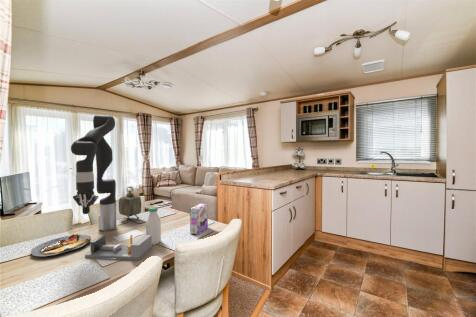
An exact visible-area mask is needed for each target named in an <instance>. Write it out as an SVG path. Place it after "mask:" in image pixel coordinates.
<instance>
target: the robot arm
mask: <svg viewBox="0 0 476 317" xmlns="http://www.w3.org/2000/svg"><path fill="white" fill-rule="evenodd" d="M92 123H93V128H92V129H90V130H89V131H88V132H87V133H86V134H85V135H84V136H82V137H80V138H79V139H76V140H75V141H73V142H72V144H71V145H70V151H71V153H72V154H73V155H75V156H86V157H85V158H84V159H80V160H77V161H76V164H75V170H76V171H75V189H76V190H75V191H76V194H75V195H73V196H72V199H73V200H74V201H75V203H76V204H77V205H78V206H81V208H82V214H83V215H88V214H90V211H91V210H90V209H91V208H90V207H91V206H93V205H94V204H95V202H96V201H97V200H98V198H99V194H100V195H101V194H102V195H103V194H109V195H107V196H106V197H103V198H101V199H99V215H98V230H99V231H102V232H107V231H113V230H115V229H116V228H117V198H116V193H117V192H116V191H117V183H116V180H115V179H113V178H111V179H109V178H107V179H103V177H104V174H105V173H106V171H107V169H108V168H109V167H110V165H111V164H112V163H113V148H112V147H111V146H110V144H109V142H108V141H106V139H105V136H106V135H108V134H109V133H111V132H112V131H113V130H114V129H115V127H116V121H115V118H114V116H112V115H107V114H105V115H104V114H95V115H94V116H93V120H92ZM94 160H95V163H96V164H95V165H96V192H97V193H98V195H95V192H94V189H95V174H94Z"/></svg>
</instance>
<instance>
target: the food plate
mask: <svg viewBox="0 0 476 317" xmlns="http://www.w3.org/2000/svg"><path fill="white" fill-rule="evenodd" d="M59 241H60V242H59ZM91 241H92V238H91V236H90V235H87V234H71V235H67V236H61V237H59V238H58V237H57V238H54V239H51V240H47V241H44V242H41V243H40V244H38V245H37V246H34V247H33V248H32V249H31V250H30V253H31V255H32V256H35V257H48V256H49V257H50V256H56V255H59V254H64V253H67V252H69V251H73V250H77V249H79V248H81V247H85V246H86V245H88V244H89V243H90V242H91ZM57 242H58V243H60V244H59V245H58V244H57V245H53V244H56V243H57ZM50 245H52V247H48V246H50ZM45 247H47V248H45ZM44 248H45V249H44ZM42 249H44V250H43V251H42V252H41V250H42Z"/></svg>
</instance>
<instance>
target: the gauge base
mask: <svg viewBox="0 0 476 317" xmlns="http://www.w3.org/2000/svg"><path fill="white" fill-rule="evenodd" d="M132 243H133V242H132ZM111 245H117V244H116V243H115V244H112V243H111ZM121 245H122V247H121V248H120V249H119V250H117V251H116V252H113V250H97V251H96V252H91V250H90V251H89V252H87V253H86V254H84V258H86V259H100V258H116V259H115V260H117V259H121V261H135V262H138V261H141V259H143V257H145V256H146V255H148V253H149V252H150V251H152V247H153V245H152V238H151V235H146V234H144V235H142V236H141V237H140V238H138V239H137V240H136V241H134V243H133V244H131V243H130V244H121ZM129 245H131V252H130V253H128V249H127V247H128V246H129Z"/></svg>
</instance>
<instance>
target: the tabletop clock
mask: <svg viewBox="0 0 476 317" xmlns="http://www.w3.org/2000/svg"><path fill="white" fill-rule="evenodd" d="M128 189H132V191H131V190H128ZM126 192H127V193H126V195H125V196H121V197H120V198H119V199H118V213H119V214H120V215H121V216H125V217H127V218H126V221H129V218H130V217H132V216H135V217H136V219H137V220H139V219H140V217H139V216H137V215H139V214H141V213H142V198H141V196H140V195H135V194H134V193H133V192H134V188H133V187H132V186H127V187H126Z"/></svg>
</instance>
